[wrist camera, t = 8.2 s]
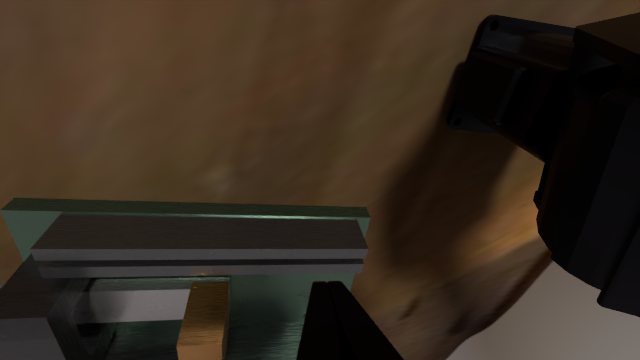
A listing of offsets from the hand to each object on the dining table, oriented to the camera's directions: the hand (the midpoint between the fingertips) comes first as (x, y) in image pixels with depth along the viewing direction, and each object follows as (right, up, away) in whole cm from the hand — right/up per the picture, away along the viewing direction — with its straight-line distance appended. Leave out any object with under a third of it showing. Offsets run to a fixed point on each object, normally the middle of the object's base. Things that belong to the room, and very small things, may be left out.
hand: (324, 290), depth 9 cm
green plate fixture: (-9, -4, +16) cm, 18 cm away
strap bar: (-14, -5, +13) cm, 20 cm away
